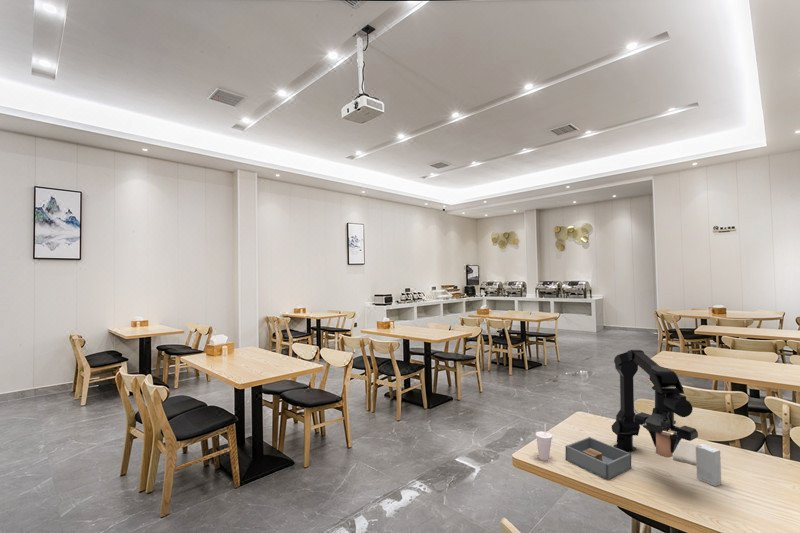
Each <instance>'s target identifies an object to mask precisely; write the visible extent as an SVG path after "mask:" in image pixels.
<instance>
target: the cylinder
mask: <svg viewBox="0 0 800 533" xmlns="http://www.w3.org/2000/svg"><path fill="white" fill-rule="evenodd" d="M670 435H672V434H671V433H669V432H668V431H663V432H662V433H657V432H656V447H655V454H657V455H658V456H660V457H664V458H672V457H673V455H674V453H671V437H670Z"/></svg>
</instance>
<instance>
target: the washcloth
mask: <svg viewBox="0 0 800 533" xmlns="http://www.w3.org/2000/svg"><path fill="white" fill-rule="evenodd" d="M696 446H697V444H694V443H692V442H690V441H689V442H688V441H682V440H680V442H679V443H678V445H677V447H676V449H675V451H674V453H673V456H672V457H673V458H672V459H673V460H674V461H676V462H680V463H683V464H684V463H685V464H689V465H692V466H696ZM696 467H697V466H696Z"/></svg>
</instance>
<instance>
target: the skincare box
mask: <svg viewBox="0 0 800 533" xmlns="http://www.w3.org/2000/svg"><path fill="white" fill-rule="evenodd" d="M696 445H697V444H696ZM721 458H722V457H721V450H720V449H718V448H715V447H713V446H709V445H706V444H704V443H701V444H698V445H697V446H696V479H697V480H699V481H702V482H704V483H706V484H707V485H708V484H709V485H711V486H714V487H718V486H720V485H722V467H721V464H722V463H721ZM719 484H720V485H719ZM717 485H718V486H717Z"/></svg>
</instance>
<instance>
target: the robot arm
mask: <svg viewBox="0 0 800 533" xmlns="http://www.w3.org/2000/svg"><path fill="white" fill-rule="evenodd" d="M613 362H614V366H615V370H616V371H617V372H618V374H619V386H620V387H619V394H620V397H619V398H620V399H619V400H620V401H619V402H620V403H619V404H620V409H619V411H618V412H617V414H616V416H615V421H614V422H613V424H612V425H611V430H612V432H613V433H614V434H615V435H616V443H615V444H614V445H612V446H613V447H616V448H618V449H620V450H623V451H625V452H628V453H631V452H634V451H635V450H637V446H636V447H635V446H634V436H639V432H640V428H641V426H642V428H644V429H646V431H648V433H649V436H650V437H651V440H652V443H653V445H654V447H655V448H656V432H657V433H662V432H668V431H670V432H673V434H672V435H670V437H671V453H673V454H674V451H675V449H676V447H677V445H678V443H679V442H680V441H682V440H685V441H687V442H688V441H689V442H691V441H693V440H695V439H697V438H698V437H699V432H698V431H697V429H696V428H693V427H690V426H687V425H683V426H676V423H677V421H676V420H675V415H677V416H679V417H681V418H686V417H687V418H688V416H690V415H691V414H692V413H693V409H694V408H693V405H692V402H690V401H688V400H687V396H686V395H684V394H685V391H684V387H683V385H682V383H681V381H680V378H679V377H678V375H677V373H676V372H675V371H673V370H671V368H668V367H664V366H661V365H659V364H658V363H657V362H656V361H654V360H653V359H652V358H650V357H649V356H648V355H647V354H645V352H644V350H641V349H630V350H628V351H626V352H623V353H619V354H617V355H616V356H615V357H614V359H613ZM639 367H640V368H641V369H642V370H643V371H644V372H645V373H647V375H648V376H649V381H650V382H651V383H652V384H653V386H651V390H653V391H654V407H653V408H652V412H651V414H650V413H646V412H639V413H637V414H636V413H635V402H634V401H635V397H634V396H635V394H634V391H635V390H634V389H635V388H634V377H635V375H636V374H637V372H638V369H639ZM640 425H641V426H640Z"/></svg>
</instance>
